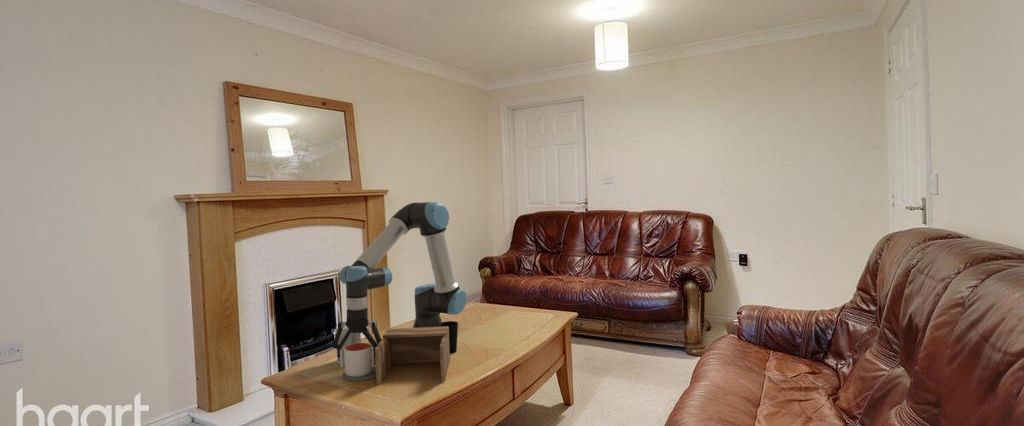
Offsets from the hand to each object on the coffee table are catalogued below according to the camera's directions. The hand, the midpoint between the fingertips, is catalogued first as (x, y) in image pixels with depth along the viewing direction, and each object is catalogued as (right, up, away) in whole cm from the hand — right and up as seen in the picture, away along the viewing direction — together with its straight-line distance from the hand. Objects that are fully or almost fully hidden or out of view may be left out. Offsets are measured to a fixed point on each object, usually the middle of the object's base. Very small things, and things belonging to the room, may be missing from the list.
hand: (358, 365), depth 184 cm
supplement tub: (-8, -3, +15) cm, 17 cm away
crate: (+21, -3, +1) cm, 22 cm away
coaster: (+1, -3, 0) cm, 4 cm away
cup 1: (0, -3, 0) cm, 3 cm away
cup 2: (+32, -1, +24) cm, 39 cm away
